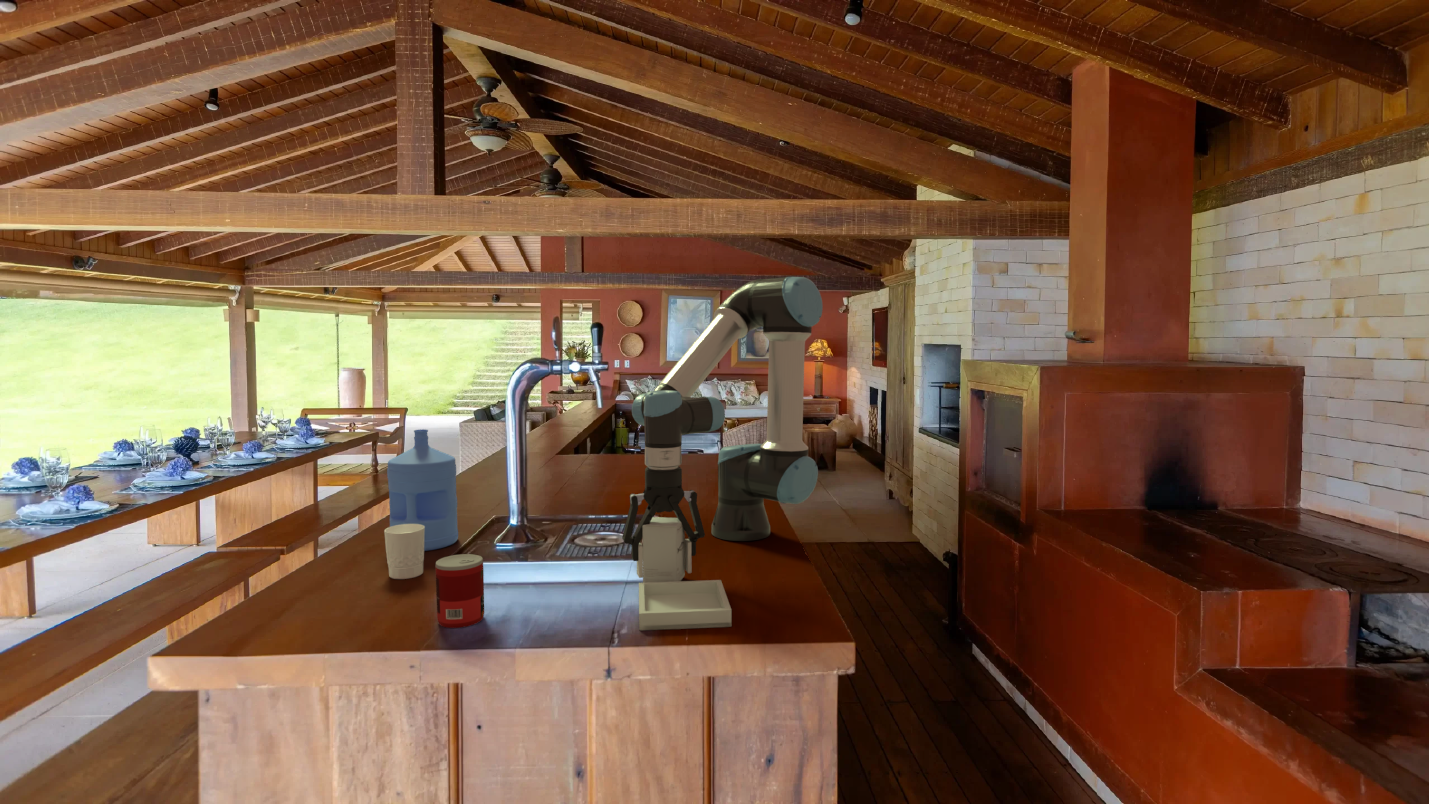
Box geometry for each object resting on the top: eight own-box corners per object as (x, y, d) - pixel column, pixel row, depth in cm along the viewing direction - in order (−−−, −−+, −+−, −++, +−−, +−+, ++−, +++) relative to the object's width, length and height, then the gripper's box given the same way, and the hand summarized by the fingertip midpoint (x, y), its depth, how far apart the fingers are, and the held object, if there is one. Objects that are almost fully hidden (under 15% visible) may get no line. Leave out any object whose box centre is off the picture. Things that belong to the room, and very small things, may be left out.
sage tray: (638, 597, 142) (638, 582, 141) (720, 594, 143) (720, 579, 143) (639, 630, 126) (639, 613, 125) (731, 626, 127) (731, 609, 127)
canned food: (492, 620, 130) (490, 560, 129) (448, 632, 125) (446, 569, 124) (472, 608, 136) (470, 551, 135) (430, 620, 130) (428, 560, 129)
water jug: (407, 534, 187) (404, 426, 185) (468, 535, 187) (465, 426, 184) (377, 552, 172) (372, 434, 169) (443, 553, 171) (439, 434, 169)
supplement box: (677, 588, 147) (676, 526, 146) (642, 585, 148) (641, 524, 147) (686, 576, 154) (685, 517, 153) (652, 574, 155) (651, 515, 154)
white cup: (390, 582, 150) (389, 535, 149) (382, 573, 156) (380, 527, 156) (430, 575, 155) (429, 529, 154) (420, 566, 161) (419, 521, 160)
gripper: (611, 472, 142) (613, 584, 144) (720, 466, 148) (720, 574, 150) (606, 466, 149) (608, 572, 151) (710, 460, 156) (710, 563, 158)
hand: (664, 573), depth 151 cm, fingers closed on supplement box, 9 cm apart
